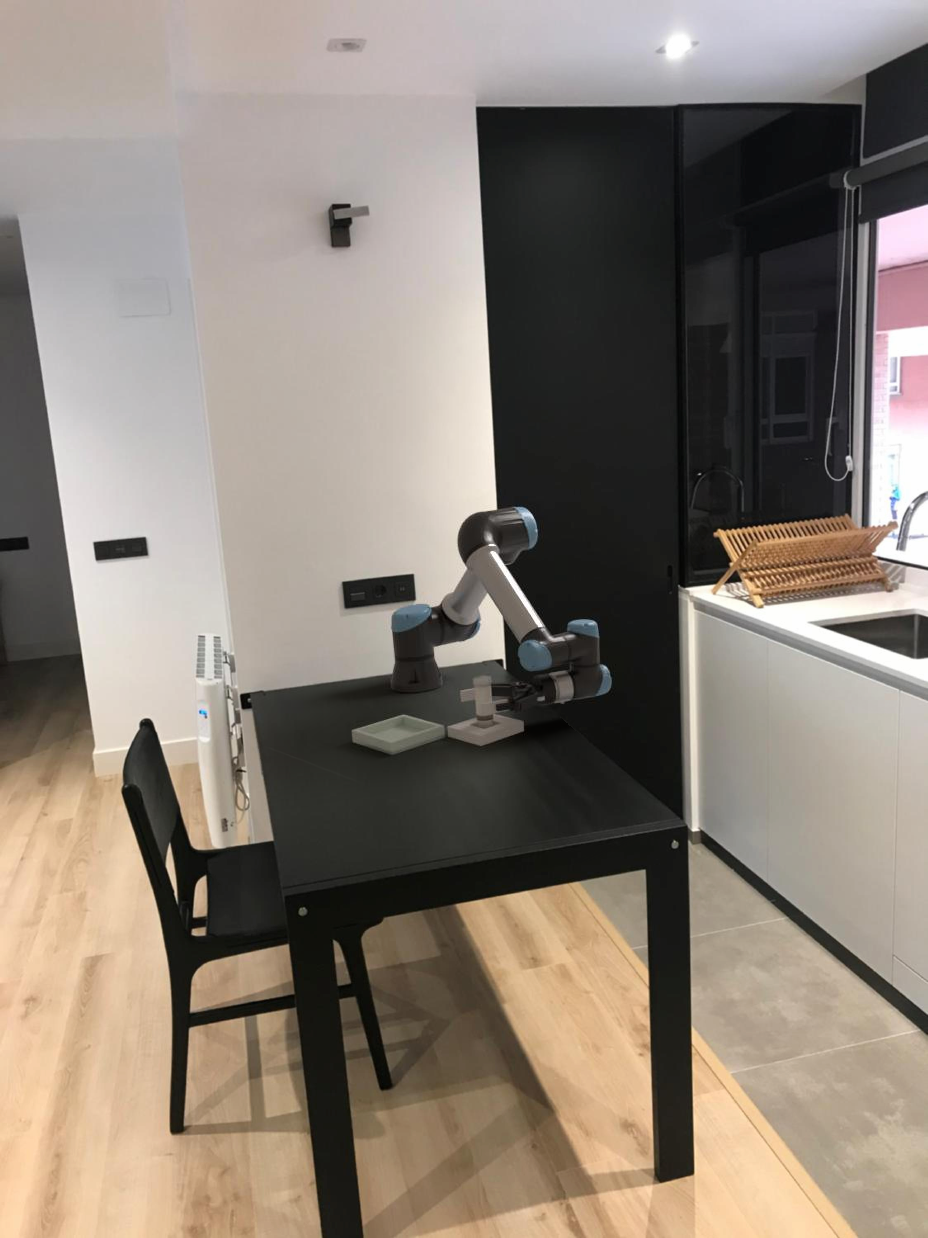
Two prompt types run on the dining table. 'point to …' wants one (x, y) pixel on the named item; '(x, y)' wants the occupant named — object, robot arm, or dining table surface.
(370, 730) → the parts tray
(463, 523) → the robot arm
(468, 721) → the socket block
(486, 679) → the fuse
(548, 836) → the dining table surface
